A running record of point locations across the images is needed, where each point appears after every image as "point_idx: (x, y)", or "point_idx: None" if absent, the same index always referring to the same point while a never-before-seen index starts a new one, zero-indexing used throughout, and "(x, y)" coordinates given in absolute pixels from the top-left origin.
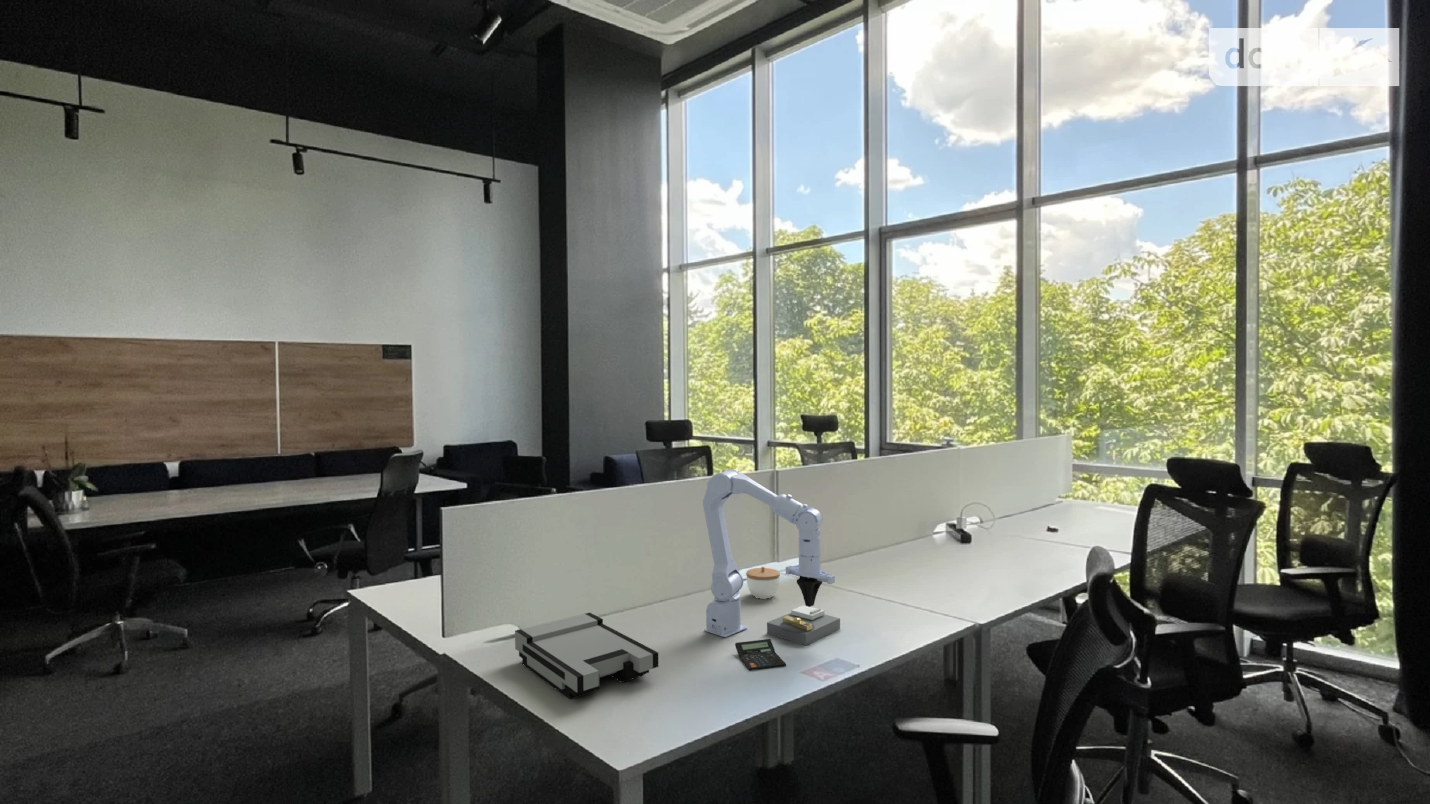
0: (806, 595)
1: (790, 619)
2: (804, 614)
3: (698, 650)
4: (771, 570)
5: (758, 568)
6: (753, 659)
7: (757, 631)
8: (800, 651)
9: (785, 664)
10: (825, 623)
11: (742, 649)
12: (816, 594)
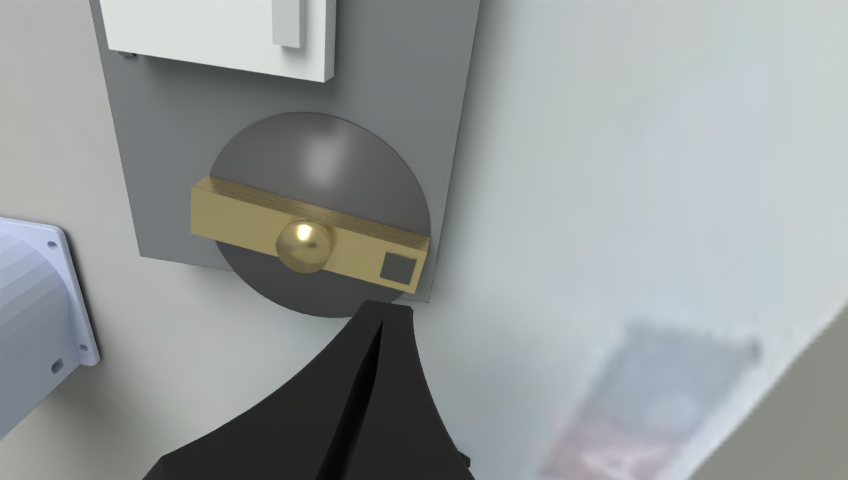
0: (353, 447)
1: (256, 242)
2: (250, 69)
3: (143, 470)
4: None
5: None
6: None
7: (124, 227)
8: (448, 335)
9: (467, 466)
10: (449, 62)
11: None
12: (423, 374)
